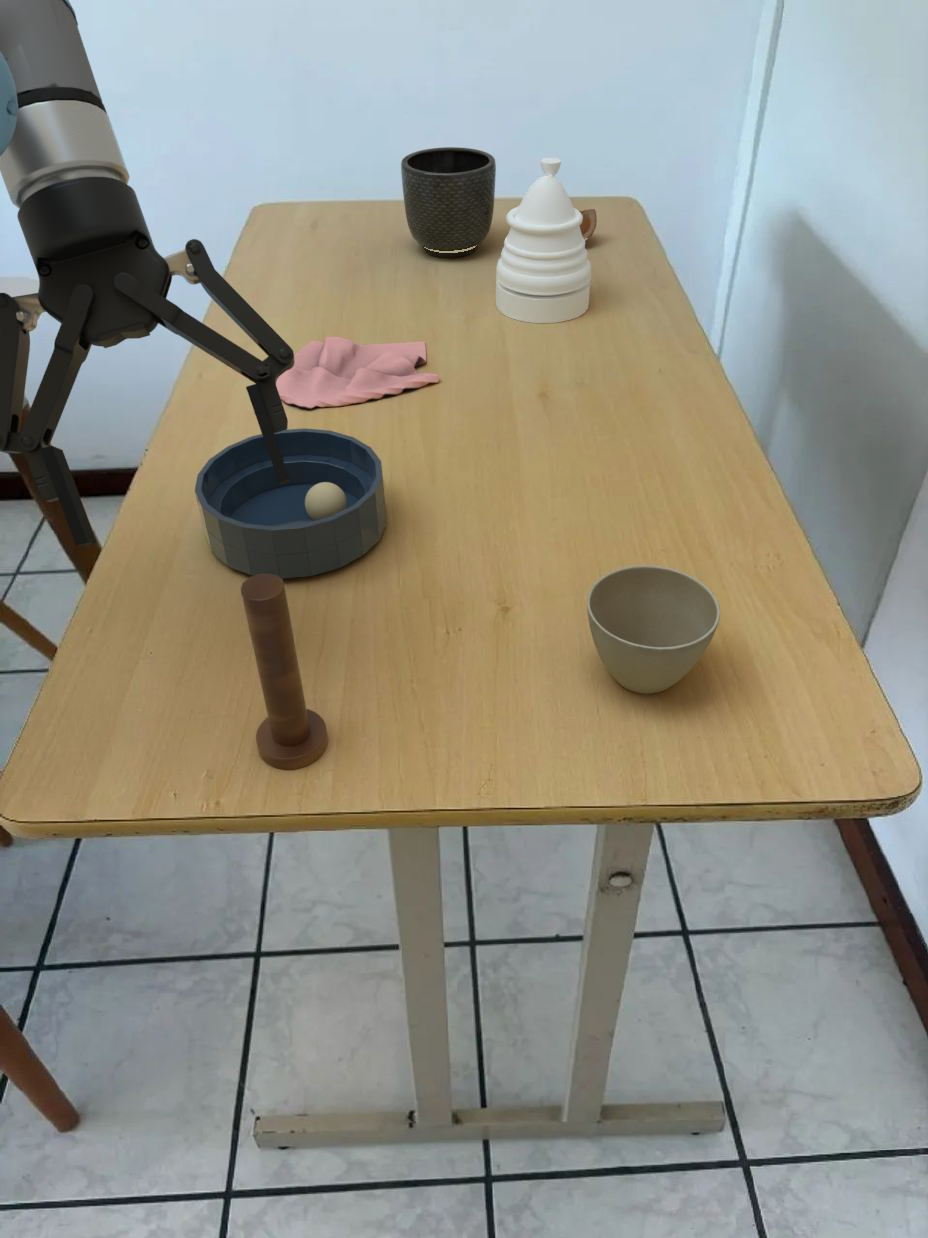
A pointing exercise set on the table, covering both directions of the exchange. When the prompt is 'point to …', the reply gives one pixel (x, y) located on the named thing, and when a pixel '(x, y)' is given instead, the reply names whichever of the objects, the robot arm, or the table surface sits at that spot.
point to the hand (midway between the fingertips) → (187, 513)
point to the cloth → (352, 372)
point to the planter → (449, 198)
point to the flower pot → (651, 625)
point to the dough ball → (325, 500)
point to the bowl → (290, 503)
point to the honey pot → (544, 256)
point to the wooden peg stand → (280, 679)
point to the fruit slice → (588, 223)
